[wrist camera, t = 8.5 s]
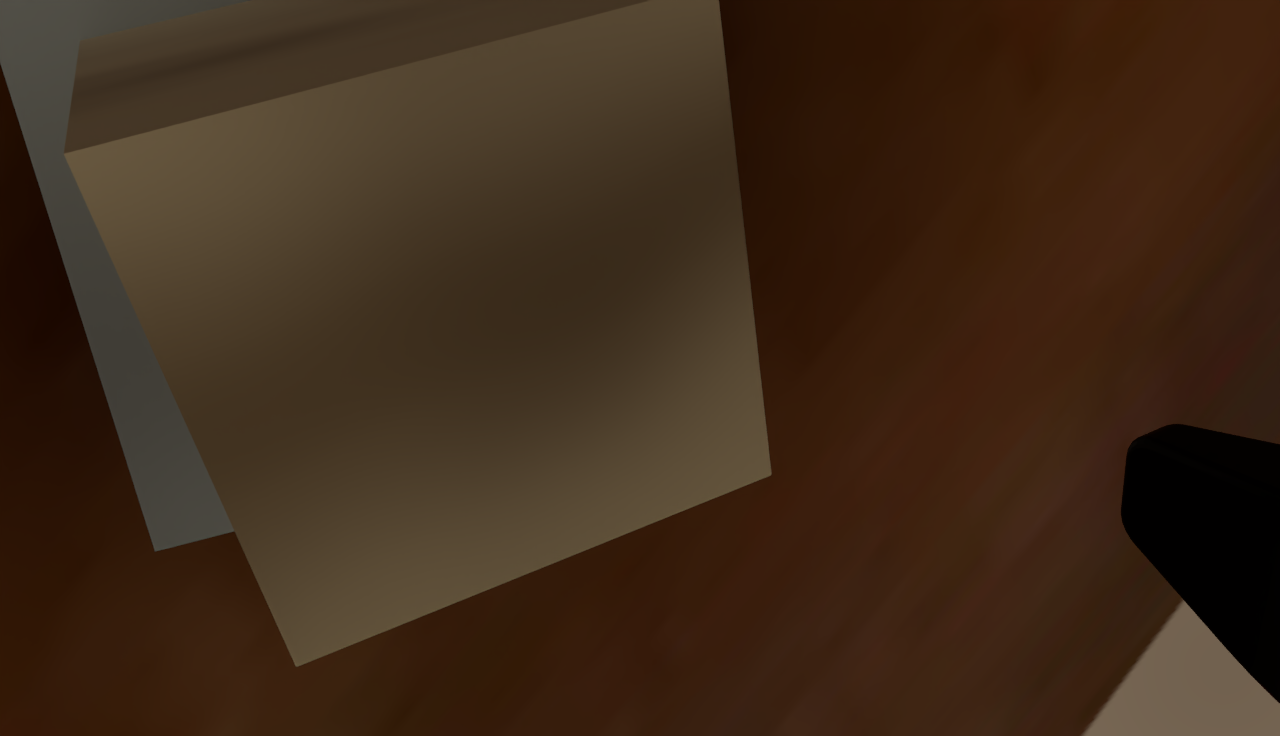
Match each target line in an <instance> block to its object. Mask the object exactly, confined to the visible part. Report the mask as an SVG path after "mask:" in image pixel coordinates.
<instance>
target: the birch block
mask: <svg viewBox="0 0 1280 736" xmlns="http://www.w3.org/2000/svg"><path fill="white" fill-rule="evenodd" d="M64 156H65V158H66V160H67V163H68V165H69V167H70V169H71V171H72V174H73V176H74V178H75V180H76V182H77V185H78V187H79V189H80V191H81V194H82V196H83V198H84V200H85V202H86V205H87V207H88V209H89V211H90V213H91V216H92V218H93V220H94V222H95V224H96V227H97V229H98V231H99V233H100V235H101V238H102V240H103V242H104V244H105V246H106V249H107V251H108V253H109V255H110V257H111V260H112V262H113V264H114V266H115V269H116V271H117V273H118V275H119V277H120V280H121V282H122V284H123V286H124V288H125V291H126V293H127V295H128V297H129V299H130V302H131V304H132V306H133V308H134V310H135V313H136V315H137V317H138V319H139V321H140V324H141V326H142V328H143V330H144V332H145V335H146V337H147V339H148V341H149V343H150V346H151V348H152V350H153V352H154V355H155V357H156V359H157V361H158V363H159V366H160V368H161V370H162V372H163V374H164V377H165V379H166V381H167V383H168V385H169V388H170V390H171V392H172V394H173V396H174V399H175V401H176V403H177V405H178V407H179V410H180V412H181V414H182V416H183V418H184V421H185V423H186V425H187V427H188V430H189V432H190V434H191V436H192V438H193V441H194V443H195V445H196V447H197V449H198V452H199V454H200V456H201V458H202V460H203V463H204V465H205V467H206V469H207V471H208V474H209V476H210V478H211V480H212V482H213V485H214V487H215V489H216V491H217V493H218V496H219V498H220V500H221V502H222V505H223V507H224V509H225V511H226V513H227V516H228V518H229V520H230V522H231V524H232V527H233V529H234V531H235V533H236V535H237V538H238V540H239V542H240V544H241V546H242V549H243V551H244V553H245V555H246V557H247V560H248V562H249V564H250V566H251V568H252V571H253V573H254V575H255V577H256V580H257V582H258V584H259V586H260V588H261V591H262V593H263V595H264V597H265V599H266V602H267V604H268V606H269V608H270V610H271V613H272V615H273V617H274V619H275V621H276V624H277V626H278V628H279V630H280V632H281V635H282V637H283V639H284V641H285V643H286V646H287V648H288V650H289V652H290V655H291V657H292V659H293V661H294V663H295V666H296V667H298V666H300V665H303V664H305V663H308V662H310V661H313V660H315V659H318V658H320V657H322V656H325V655H327V654H330V653H332V652H335V651H337V650H340V649H342V648H345V647H347V646H350V645H352V644H355V643H357V642H360V641H362V640H365V639H367V638H369V637H372V636H374V635H377V634H379V633H382V632H384V631H387V630H389V629H392V628H394V627H397V626H399V625H402V624H404V623H407V622H409V621H412V620H414V619H417V618H419V617H421V616H424V615H426V614H429V613H431V612H434V611H436V610H439V609H441V608H444V607H446V606H449V605H451V604H454V603H456V602H459V601H461V600H464V599H466V598H468V597H471V596H473V595H476V594H478V593H481V592H483V591H486V590H488V589H491V588H493V587H496V586H498V585H501V584H503V583H506V582H508V581H511V580H513V579H515V578H518V577H520V576H523V575H525V574H528V573H530V572H533V571H535V570H538V569H540V568H543V567H545V566H548V565H550V564H553V563H555V562H558V561H560V560H562V559H565V558H567V557H570V556H572V555H575V554H577V553H580V552H582V551H585V550H587V549H590V548H592V547H595V546H597V545H600V544H602V543H605V542H607V541H609V540H612V539H614V538H617V537H619V536H622V535H624V534H627V533H629V532H632V531H634V530H637V529H639V528H642V527H644V526H647V525H649V524H652V523H654V522H656V521H659V520H661V519H664V518H666V517H669V516H671V515H674V514H676V513H679V512H681V511H684V510H686V509H689V508H691V507H694V506H696V505H699V504H701V503H704V502H706V501H708V500H711V499H713V498H716V497H718V496H721V495H723V494H726V493H728V492H731V491H733V490H736V489H738V488H741V487H743V486H746V485H748V484H751V483H753V482H755V481H758V480H760V479H763V478H765V477H768V476H770V475H772V474H771V465H770V456H769V447H768V438H767V429H766V420H765V411H764V402H763V393H762V384H761V375H760V366H759V357H758V348H757V339H756V330H755V321H754V312H753V303H752V294H751V285H750V276H749V267H748V258H747V249H746V240H745V231H744V222H743V213H742V204H741V195H740V186H739V177H738V168H737V159H736V150H735V141H734V132H733V123H732V114H731V105H730V96H729V87H728V78H727V69H726V60H725V51H724V42H723V33H722V24H721V15H720V6H719V0H250V1H246V2H242V3H237V4H233V5H229V6H225V7H220V8H216V9H212V10H208V11H203V12H199V13H195V14H191V15H186V16H182V17H178V18H174V19H169V20H165V21H161V22H157V23H152V24H148V25H144V26H140V27H136V28H131V29H127V30H123V31H119V32H114V33H110V34H106V35H102V36H97V37H93V38H89V39H85V40H80V44H79V51H78V58H77V65H76V72H75V79H74V86H73V93H72V100H71V106H70V113H69V120H68V127H67V134H66V141H65V148H64Z"/></svg>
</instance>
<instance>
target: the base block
mask: <svg viewBox="0 0 1280 736" xmlns="http://www.w3.org/2000/svg"><path fill="white" fill-rule="evenodd" d="M246 1H250V0H0V64H1V67H2V70H3V73H4V76H5V79H6V83H7V86H8V89H9V92H10V95H11V98H12V102H13V105H14V108H15V111H16V114H17V117H18V120H19V124H20V127H21V130H22V133H23V136H24V139H25V143H26V146H27V149H28V152H29V155H30V158H31V162H32V165H33V168H34V171H35V174H36V177H37V180H38V184H39V187H40V190H41V193H42V196H43V199H44V203H45V206H46V209H47V212H48V215H49V218H50V222H51V225H52V228H53V231H54V234H55V237H56V240H57V244H58V247H59V250H60V253H61V256H62V259H63V263H64V266H65V269H66V272H67V275H68V278H69V282H70V285H71V288H72V291H73V294H74V297H75V300H76V304H77V307H78V310H79V313H80V316H81V319H82V323H83V326H84V329H85V332H86V335H87V338H88V342H89V345H90V348H91V351H92V354H93V357H94V360H95V364H96V367H97V370H98V373H99V376H100V379H101V383H102V386H103V389H104V392H105V395H106V398H107V402H108V405H109V408H110V411H111V414H112V417H113V420H114V424H115V427H116V430H117V433H118V436H119V439H120V443H121V446H122V449H123V452H124V455H125V458H126V462H127V465H128V468H129V471H130V474H131V477H132V480H133V484H134V487H135V490H136V493H137V496H138V499H139V503H140V506H141V509H142V512H143V515H144V518H145V522H146V525H147V528H148V531H149V534H150V537H151V540H152V544H153V547H154V550H155V551H159V550H163V549H167V548H171V547H175V546H179V545H183V544H187V543H190V542H194V541H198V540H202V539H206V538H210V537H214V536H218V535H222V534H226V533H230V532H233V531H234V529H233V527H232V524H231V522H230V520H229V518H228V516H227V513H226V511H225V509H224V507H223V505H222V502H221V500H220V498H219V496H218V493H217V491H216V489H215V487H214V485H213V482H212V480H211V478H210V476H209V474H208V471H207V469H206V467H205V465H204V463H203V460H202V458H201V456H200V454H199V452H198V449H197V447H196V445H195V443H194V441H193V438H192V436H191V434H190V432H189V430H188V427H187V425H186V423H185V421H184V418H183V416H182V414H181V412H180V410H179V407H178V405H177V403H176V401H175V399H174V396H173V394H172V392H171V390H170V388H169V385H168V383H167V381H166V379H165V377H164V374H163V372H162V370H161V368H160V366H159V363H158V361H157V359H156V357H155V355H154V352H153V350H152V348H151V346H150V343H149V341H148V339H147V337H146V335H145V332H144V330H143V328H142V326H141V324H140V321H139V319H138V317H137V315H136V313H135V310H134V308H133V306H132V304H131V302H130V299H129V297H128V295H127V293H126V291H125V288H124V286H123V284H122V282H121V280H120V277H119V275H118V273H117V271H116V269H115V266H114V264H113V262H112V260H111V257H110V255H109V253H108V251H107V249H106V246H105V244H104V242H103V240H102V238H101V235H100V233H99V231H98V229H97V227H96V224H95V222H94V220H93V218H92V216H91V213H90V211H89V209H88V207H87V205H86V202H85V200H84V198H83V196H82V194H81V191H80V189H79V187H78V185H77V182H76V180H75V178H74V176H73V174H72V171H71V169H70V167H69V165H68V163H67V160H66V158H65V156H64V148H65V141H66V134H67V127H68V120H69V113H70V106H71V100H72V93H73V86H74V79H75V72H76V65H77V58H78V51H79V44H80V40H85V39H89V38H93V37H97V36H102V35H106V34H110V33H114V32H119V31H123V30H127V29H131V28H136V27H140V26H144V25H148V24H152V23H157V22H161V21H165V20H169V19H174V18H178V17H182V16H186V15H191V14H195V13H199V12H203V11H208V10H212V9H216V8H220V7H225V6H229V5H233V4H237V3H242V2H246Z"/></svg>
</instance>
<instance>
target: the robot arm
mask: <svg viewBox="0 0 1280 736" xmlns="http://www.w3.org/2000/svg"><path fill="white" fill-rule="evenodd" d="M1121 517H1122V522H1123V525H1124V528H1125V530H1126V532H1127V534H1128V535H1129V537H1130V539H1131V540H1132V541H1133V543H1134V544H1135V545H1136V546H1137V547H1138V548H1139V550H1140V551H1141V552H1142V553H1143V554H1144V555H1145V556H1146V558H1147V559H1148V560H1149V561H1150V562H1151V563H1152V564H1153V566H1154V567H1155V568H1156V569H1157V570H1158V571H1159V572H1160V573H1161V575H1162V576H1163V577H1164V578H1165V579H1166V580H1167V581H1168V583H1169V584H1170V585H1171V586H1172V587H1173V588H1174V589H1175V591H1176V592H1177V593H1178V594H1179V595H1180V596H1181V597H1182V598H1183V600H1184V601H1185V602H1186V603H1187V604H1188V605H1189V606H1190V608H1191V609H1192V610H1193V611H1194V612H1195V613H1196V614H1197V616H1198V617H1199V618H1200V619H1201V620H1202V621H1203V622H1204V623H1205V625H1206V626H1207V627H1208V628H1209V629H1210V630H1211V631H1212V633H1213V634H1214V635H1215V636H1216V637H1217V638H1218V639H1219V641H1220V642H1221V643H1222V644H1223V645H1224V646H1225V647H1226V649H1227V650H1228V651H1229V652H1230V653H1231V654H1232V655H1233V656H1234V657H1235V659H1236V660H1237V661H1238V662H1239V663H1240V664H1241V665H1242V666H1243V667H1244V668H1245V669H1246V670H1247V671H1248V673H1250V675H1251V676H1252V677H1253V678H1254V679H1255V680H1256V681H1257V682H1258V683H1259V684H1260V685H1261V686H1262V687H1263V688H1264V689H1265V690H1266V691H1267V692H1268V693H1270V695H1271V696H1272V697H1274V698H1275V699H1276V700H1277V701H1278V702H1279V703H1280V444H1275V443H1271V442H1266V441H1261V440H1256V439H1251V438H1246V437H1241V436H1237V435H1232V434H1227V433H1222V432H1217V431H1212V430H1208V429H1203V428H1198V427H1193V426H1188V425H1183V424H1171V425H1166V426H1164V427H1161V428H1159V429H1157V430H1154V431H1152V432H1150V433H1148V434H1145V435H1143V436H1141V437H1138V438H1137V439H1135V440H1134V441H1133V442H1132V443H1131V445H1130V446H1129V448H1128V451H1127V456H1126V466H1125V476H1124V485H1123V495H1122V505H1121Z"/></svg>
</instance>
